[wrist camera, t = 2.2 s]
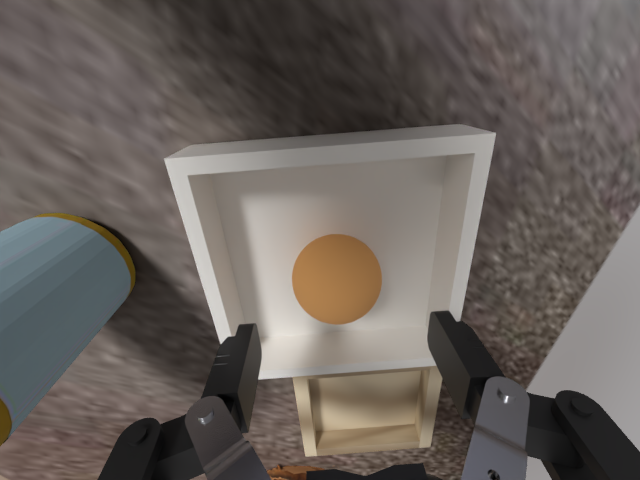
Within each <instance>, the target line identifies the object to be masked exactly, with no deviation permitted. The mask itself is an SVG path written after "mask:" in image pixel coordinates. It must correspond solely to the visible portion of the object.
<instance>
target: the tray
mask: <svg viewBox="0 0 640 480" xmlns="http://www.w3.org/2000/svg"><path fill="white" fill-rule="evenodd" d="M293 383H294V389H295V395H296V401H297V407H298V414H299V420H300V426H301V432H302V438H303V444H304V450H305V456H306V457H308V456H321V455H334V454H347V453H360V452H373V451H385V450H398V449H411V448H424V447H430V446H431V440H432V434H433V429H434V423H435V417H436V412H437V406H438V400H439V395H440V389H441V383H442V376H441V374H440V372H439V370H438V368H437V366H426V367H413V368H400V369H388V370H375V371H362V372H349V373H336V374H323V375H310V376H297V377H293Z"/></svg>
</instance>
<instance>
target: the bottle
mask: <svg viewBox="0 0 640 480" xmlns="http://www.w3.org/2000/svg"><path fill="white" fill-rule="evenodd" d="M134 285H135V267H134V265H133V262H132V259H131V257H130V255H129V253H128V251H127V250H126V248H125V247H124V246H123V244H122V243H121V242H120V240H119V239H118V238H116V237H115V236H114V235H113V234H112V233H110V232H109V231H108V230H107V229H105V228H103V227H101V226H99V225H97V224H95V223H93V222H91V221H89V220H87V219H84V218H81V217H78V216H73V215H69V214H64V213H45V214H40V215H38V216H35V217H33V218H30V219H28V220H25V221H23V222H20V223H18V224H16V225H14V226H12V227H10V228H7V229H5V230H3V231H1V232H0V446H1V445H2V444H3V443H4V442H5V441H6V440H7V439H8V438H9V437H10V435H11V434H12V433H13V432H14V431H15V430H16V428H17V427H18V426H19V425H20V424H21V422H22V421H23V420H24V419H25V418H26V417H27V415H28V414H29V413H30V412H31V411H32V410H33V408H34V407H35V406H36V405H37V404H38V402H39V401H40V400H41V399H42V398H43V397H44V395H45V394H46V393H47V392H48V391H49V389H50V388H51V387H52V386H53V385H54V384H55V382H56V381H57V380H58V379H59V378H60V377H61V375H62V374H63V373H64V372H65V371H66V369H67V368H68V367H69V366H70V365H71V364H72V362H73V361H74V360H75V359H76V358H77V356H78V355H79V354H80V353H81V352H82V351H83V349H84V348H85V347H86V346H87V345H88V344H89V342H90V341H91V340H92V339H93V338H94V336H95V335H96V334H97V333H98V332H99V331H100V329H101V328H102V327H103V326H104V325H105V323H106V322H107V321H108V320H109V319H110V318H111V316H112V315H113V314H114V313H115V312H116V311H117V309H118V308H119V307H120V306H121V305H122V303H123V302H124V301H125V300H126V298H127V297H128V296H129V294H130V293H131V291H132V289H133V287H134Z"/></svg>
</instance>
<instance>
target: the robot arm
mask: <svg viewBox="0 0 640 480" xmlns="http://www.w3.org/2000/svg"><path fill="white" fill-rule="evenodd" d="M427 342H428V347H429V350H430V352H431V355H432V357H433V359H434V361H435V363H436V365H437V368H438V370H439V372H440V374H441V376H442V378H443V381H444V383H445V385H446V387H447V389H448V391H449V394H450V396H451V398H452V400H453V402H454V404H455V407H456V409H457V411H458V413H459V415H460V417H461V419H469V418H471V419H472V421H473V423H474V429H473V433H472V437H471V441H470V445H469V449H468V453H467V456H466V460H465V464H464V468H463V472H462V476H461V480H525V478H526V467H527V456H530V457H534V458H537V459H541V461H542V462H543V465H544V466H545V468H546V470H547V472H548V473H549V475H550V477H551V478H552V480H640V452H639V450H638V449H637V448H636V447H635V446H634V445H633V443H632V442H631V441H630V440H629V439H628V438H627V436H626V435H625V434H624V433H623V432H622V431H621V429H620V428H619V427H618V426H617V425H616V424H615V422H614V421H613V420H612V419H611V418H610V417H609V415H608V414H607V413H606V412H605V411H604V410H603V408H602V407H601V406H600V405H599V404H597V403H596V402H595V401H594V400H592V399H591V398H589V397H588V396H585V395H584V394H581V393H579V392H575V391H570V390H564V391H561V392H559V393H558V394H557V395H556V398H555V399H554V398H549V397H544V396H539V395H534V394H531V393H528V392H526V391H525V390H524V388H523V387H522V386H520V385H519V384H518V383H516V382H515V381H513V380H511V379H508V378H506V377H505V376H504V374H503V373H502V372H501V370H500V369H499V367H498V366H497V364H496V363H495V361H494V360H493V358H492V357H491V355H490V354H489V353H488V351H487V350H486V348H484V345H483V344H482V342H481V341H480V340H479V338H478V336H477V335H476V334H475V332H474V331H473V329H472V328H470V327H469V326H468V325H467V324H465V323H464V322H463V321H457V322H456V320H455V319H454V317H453V316H452V314H451V313H450V311H448V310H447V311H432V312H431V313H430V318H429V326H428V334H427ZM261 360H262V349H261V343H260V338H259V333H258V329H257V325H256V323H250V324H239V326H238V328H237V332H236V335H235V336H231V337H227V338H226V339H225V340H224V341H223V343H222V344H221V345H220V347H219V350H218V352H217V355H216V358H215V361H214V365H213V366H212V369H211V372H210V375H209V378H208V380H207V383H206V386H205V389H204V392H203V394H202V397H201V399H200V400H198V401H197V402H195V403H194V404H193V405H192V406H191V407H190V409H189V410H188V412H187V414H185V415H183V416H181V417H179V418H176V419H173V420H171V421H168V422H165V423H163V424H160V423H159V422H158V421H157V420H156V419H154V418H144V419H141V420H138V421H136V422H134V423H133V424H131V425H130V426H129V427H127V428H126V429H125V430H124V431H123V432H122V434H121V435H120V436H119V438H118V440H117V442H116V444H115V446H114V448H113V450H112V452H111V454H110V456H109V458H108V460H107V462H106V464H105V466H104V468H103V470H102V472H101V474H100V476H99V478H98V480H190V479H192V478H194V477H196V476H199V475H201V474H203V473H205V475H206V477H207V480H271V478H270V476H269V474H268V473H267V471H266V469H265V468H264V466H263V464H262V462H261V461H260V459H259V457H258V456H257V454H256V452H255V450H254V449H253V447H252V445H251V444H250V442H249V441H246V440H245V438H244V437H243V435H242V433H248V432H249V426H250V421H251V415H252V410H253V404H254V399H255V394H256V388H257V383H258V377H259V372H260V366H261ZM306 480H442V479H440V478H438V477H436V476H433V475H430V474H426V472H425V468H424V465H423V463H420V464H405V465H394V466H391V467H388V468H386V469H383V470H381V471H378V472H376V473H373V474H371V475H368V476H362V475H358V474H354V473H349V472H345V471H340V470H336V469H331V470H316V471H306Z"/></svg>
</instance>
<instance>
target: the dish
mask: <svg viewBox="0 0 640 480" xmlns="http://www.w3.org/2000/svg"><path fill="white" fill-rule="evenodd" d="M495 137H496V133H494V132H490V131H486V130H482V129H479V128H475V127H471V126H467V125H463V124H452V125H439V126H426V127H413V128H400V129H387V130H374V131H361V132H349V133H336V134H323V135H310V136H297V137H284V138H271V139H258V140H245V141H233V142H220V143H207V144H194V145H190V146H188V147H186V148H184V149H182V150H180V151H178V152H176V153H174V154H172V155H170V156H168V157H167V158H165V159H164V160H165V164H166V167H167V170H168V174H169V177H170V180H171V183H172V187H173V190H174V193H175V197H176V200H177V203H178V206H179V210H180V213H181V216H182V220H183V223H184V226H185V229H186V233H187V236H188V239H189V243H190V246H191V249H192V252H193V256H194V259H195V262H196V265H197V269H198V272H199V275H200V279H201V282H202V285H203V288H204V292H205V295H206V298H207V302H208V305H209V308H210V311H211V315H212V318H213V321H214V325H215V328H216V331H217V334H218V338H219V341H220V344H222V343H223V341H224V340H225V339H226V338H227V337H231V336H235V335H236V332H237V328H238V326H239V324H250V323H256V325H257V329H258V333H259V338H260V343H261V349H262V360H261V366H260V372H259V377H258V380H259V379H271V378H284V377H297V376H310V375H323V374H336V373H349V372H362V371H375V370H388V369H400V368H413V367H426V366H437V365H436V363H435V361H434V359H433V357H432V355H431V352H430V350H429V347H428V342H427V334H428V326H429V318H430V313H431V312H432V311H447V310H448V311H450V313H451V314H452V316H453V317H454V319H455V320H456V322H457V321H460V319H461V314H462V309H463V304H464V299H465V293H466V288H467V283H468V278H469V273H470V267H471V262H472V257H473V252H474V247H475V241H476V236H477V231H478V226H479V220H480V215H481V210H482V205H483V200H484V194H485V189H486V184H487V179H488V174H489V168H490V163H491V158H492V153H493V148H494V142H495ZM330 234H344V235H348V236H351V237H354V238H356V239H358V240H360V241H361V242H363V243H364V244H366V245H367V246H368V247H369V248H370V249H371V251H372V252H373V253H374V255H375V256H376V258H377V260H378V262H379V265H380V268H381V273H382V286H381V291H380V295H379V297H378V299H377V301H376V303H375V305H374V306H373V307H372V308H371V310H370V311H369V312H368V313H367V314H366V315H364V316H363V317H361V318H360V319H358V320H356V321H354V322H351V323H347V324H340V325H335V324H328V323H324V322H321V321H319V320H317V319H315V318H313V317H312V316H310V315H309V314H308V313H307V312H306V311H305V310H304V309H303V308H302V307H301V306H300V304H299V302H298V301H297V299H296V297H295V294H294V291H293V286H292V272H293V267H294V264H295V261H296V259H297V257H298V255H299V254H300V252H301V251H302V250H303V249H304V248H305V247H306V246H307V245H308V244H309V243H310V242H312V241H313V240H315V239H317V238H319V237H322V236H325V235H330Z"/></svg>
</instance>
